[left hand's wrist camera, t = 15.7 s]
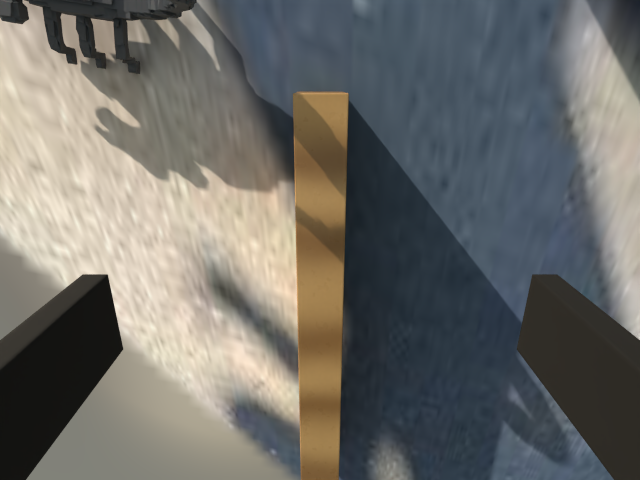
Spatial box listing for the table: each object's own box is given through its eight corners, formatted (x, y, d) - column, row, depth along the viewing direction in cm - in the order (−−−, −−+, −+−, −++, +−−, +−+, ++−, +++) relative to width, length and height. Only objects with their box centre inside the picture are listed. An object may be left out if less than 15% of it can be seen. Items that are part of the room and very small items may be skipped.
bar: (297, 91, 43) (292, 93, 35) (343, 91, 43) (348, 93, 35) (303, 446, 61) (301, 502, 53) (335, 446, 61) (338, 502, 53)
